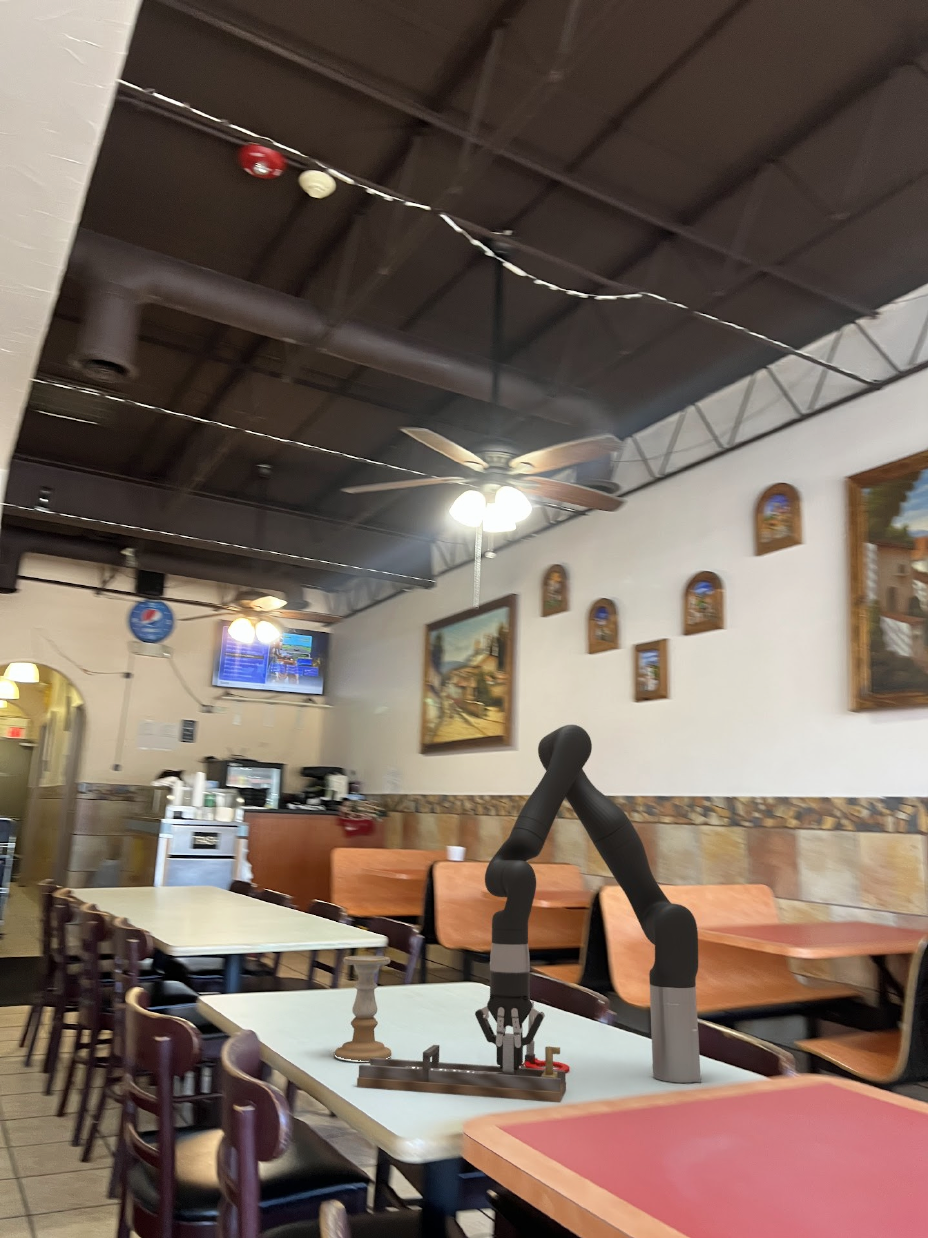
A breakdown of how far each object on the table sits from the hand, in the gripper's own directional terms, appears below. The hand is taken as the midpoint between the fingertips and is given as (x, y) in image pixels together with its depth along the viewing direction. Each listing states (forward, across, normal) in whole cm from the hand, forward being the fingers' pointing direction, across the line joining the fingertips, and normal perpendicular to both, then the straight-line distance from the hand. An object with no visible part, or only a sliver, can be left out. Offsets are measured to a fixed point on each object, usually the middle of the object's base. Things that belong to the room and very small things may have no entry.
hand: (509, 1068), depth 165 cm
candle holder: (+4, +36, -22) cm, 42 cm away
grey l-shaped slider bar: (+2, +10, 0) cm, 10 cm away
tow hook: (+4, -4, -22) cm, 22 cm away
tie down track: (+4, +9, 0) cm, 10 cm away
